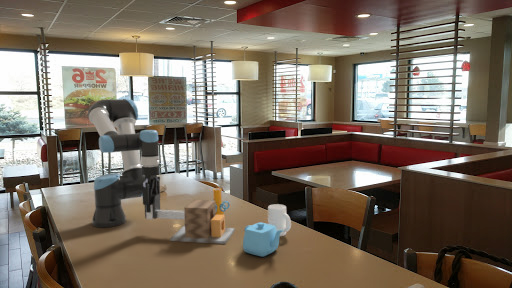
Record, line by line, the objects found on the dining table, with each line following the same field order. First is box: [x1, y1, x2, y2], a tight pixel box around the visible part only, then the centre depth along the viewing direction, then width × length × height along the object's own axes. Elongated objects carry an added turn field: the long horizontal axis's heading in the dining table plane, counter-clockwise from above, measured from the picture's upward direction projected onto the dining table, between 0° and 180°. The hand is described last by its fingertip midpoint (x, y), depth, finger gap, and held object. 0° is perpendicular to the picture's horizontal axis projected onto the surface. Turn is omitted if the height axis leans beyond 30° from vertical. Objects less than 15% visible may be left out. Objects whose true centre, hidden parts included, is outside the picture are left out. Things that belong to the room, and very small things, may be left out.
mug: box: [267, 203, 292, 237], centre depth 164 cm, size 8×12×12 cm
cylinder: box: [210, 187, 230, 215], centre depth 186 cm, size 12×10×15 cm
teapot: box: [242, 221, 284, 258], centre depth 145 cm, size 12×18×12 cm
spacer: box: [211, 214, 226, 237], centre depth 163 cm, size 4×7×7 cm, turn 170°
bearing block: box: [169, 199, 235, 245], centre depth 164 cm, size 24×16×14 cm, turn 80°
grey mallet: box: [144, 193, 185, 220], centre depth 165 cm, size 26×5×10 cm, turn 80°
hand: (152, 216), depth 168 cm, fingers closed on grey mallet, 5 cm apart
